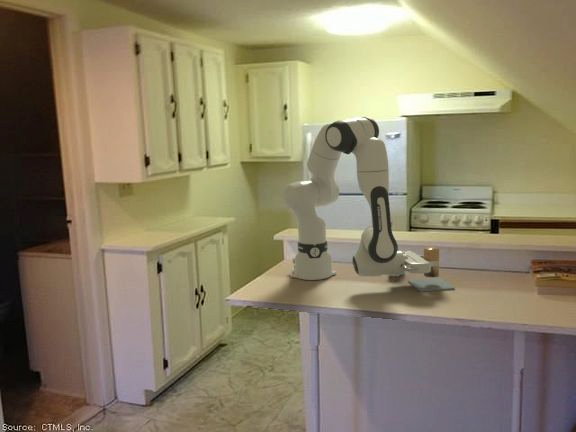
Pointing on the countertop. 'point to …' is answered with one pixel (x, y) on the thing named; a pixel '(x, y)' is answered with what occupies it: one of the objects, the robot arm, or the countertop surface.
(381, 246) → the robot arm
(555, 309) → the countertop surface
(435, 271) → the tea tin
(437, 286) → the mat
